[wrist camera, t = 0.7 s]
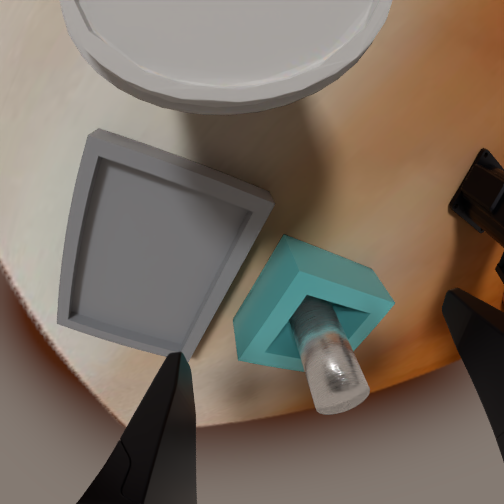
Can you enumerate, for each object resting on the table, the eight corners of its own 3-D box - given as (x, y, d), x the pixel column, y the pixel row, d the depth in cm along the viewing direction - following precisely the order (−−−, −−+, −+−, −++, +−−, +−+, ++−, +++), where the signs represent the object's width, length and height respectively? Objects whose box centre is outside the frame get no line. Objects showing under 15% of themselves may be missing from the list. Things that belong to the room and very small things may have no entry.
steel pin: (333, 288, 26) (380, 385, 18) (311, 318, 28) (346, 415, 19) (298, 276, 25) (339, 382, 16) (276, 309, 26) (304, 413, 18)
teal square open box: (372, 269, 26) (395, 303, 22) (317, 339, 30) (330, 375, 26) (283, 234, 23) (299, 270, 19) (232, 319, 27) (238, 360, 23)
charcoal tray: (269, 191, 21) (275, 203, 20) (188, 345, 28) (188, 362, 27) (98, 128, 17) (87, 135, 15) (63, 307, 24) (56, 323, 23)
